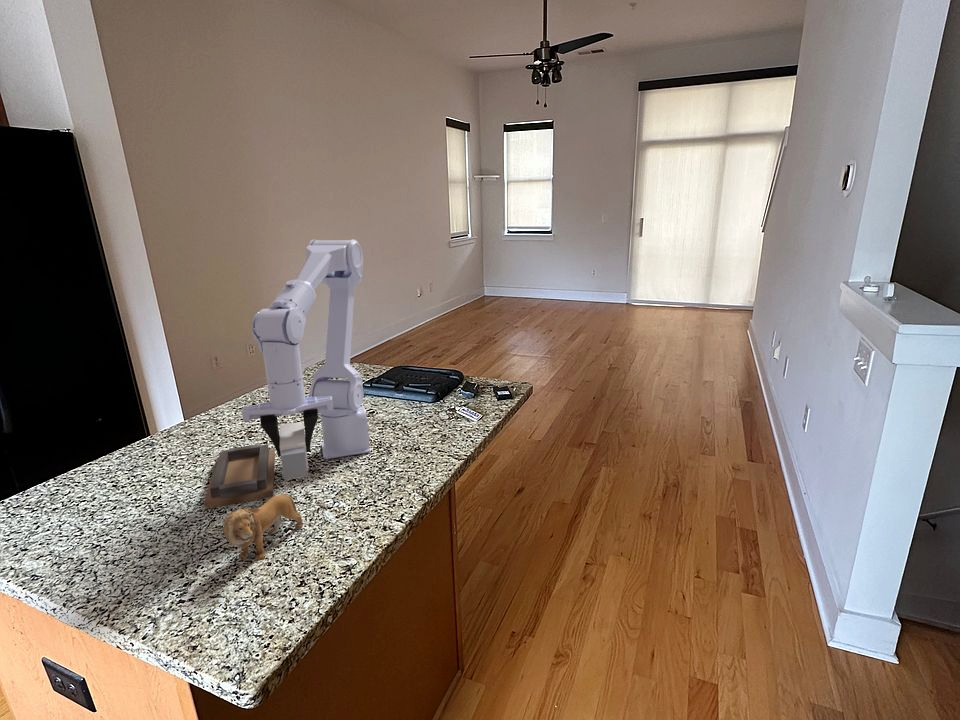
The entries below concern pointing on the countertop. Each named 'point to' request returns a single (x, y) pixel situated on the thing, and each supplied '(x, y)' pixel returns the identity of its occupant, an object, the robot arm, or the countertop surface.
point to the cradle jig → (241, 476)
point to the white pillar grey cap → (293, 450)
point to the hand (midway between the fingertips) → (294, 452)
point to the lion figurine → (259, 523)
